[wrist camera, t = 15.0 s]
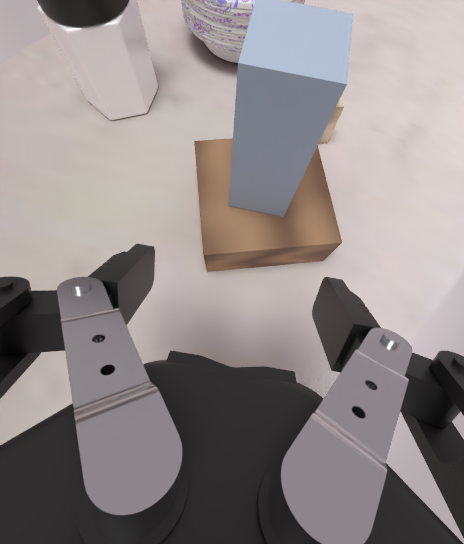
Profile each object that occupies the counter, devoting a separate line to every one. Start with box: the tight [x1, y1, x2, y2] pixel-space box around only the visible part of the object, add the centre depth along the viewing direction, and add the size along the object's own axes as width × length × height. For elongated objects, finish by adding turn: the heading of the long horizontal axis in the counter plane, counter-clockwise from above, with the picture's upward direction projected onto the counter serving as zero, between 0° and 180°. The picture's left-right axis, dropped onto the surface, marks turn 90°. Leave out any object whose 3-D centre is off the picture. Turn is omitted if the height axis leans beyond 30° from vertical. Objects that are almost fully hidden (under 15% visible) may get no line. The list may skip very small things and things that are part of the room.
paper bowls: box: [181, 0, 305, 63], centre depth 33 cm, size 15×15×8 cm
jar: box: [37, 0, 158, 120], centre depth 27 cm, size 9×8×12 cm
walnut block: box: [194, 139, 342, 272], centre depth 26 cm, size 12×12×5 cm
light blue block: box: [229, 0, 353, 217], centre depth 18 cm, size 5×5×12 cm
